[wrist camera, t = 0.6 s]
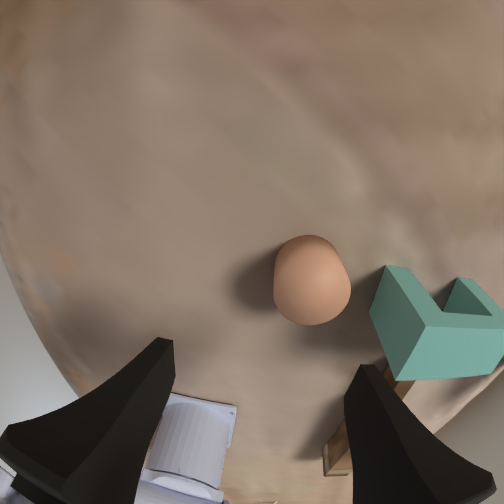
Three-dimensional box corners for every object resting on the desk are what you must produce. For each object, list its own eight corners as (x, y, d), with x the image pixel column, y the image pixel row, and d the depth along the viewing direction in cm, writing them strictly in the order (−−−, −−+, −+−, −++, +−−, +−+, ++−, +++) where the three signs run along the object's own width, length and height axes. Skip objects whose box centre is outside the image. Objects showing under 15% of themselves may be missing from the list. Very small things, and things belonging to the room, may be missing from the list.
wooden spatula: (344, 450, 29) (347, 475, 25) (321, 450, 29) (323, 476, 25) (411, 353, 22) (425, 385, 18) (382, 352, 22) (394, 387, 18)
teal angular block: (454, 320, 20) (490, 374, 13) (368, 312, 20) (395, 380, 14) (473, 279, 18) (519, 329, 12) (385, 265, 18) (426, 326, 12)
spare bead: (330, 297, 20) (338, 329, 17) (269, 289, 20) (267, 320, 17) (346, 240, 18) (360, 264, 15) (280, 229, 18) (280, 252, 15)
